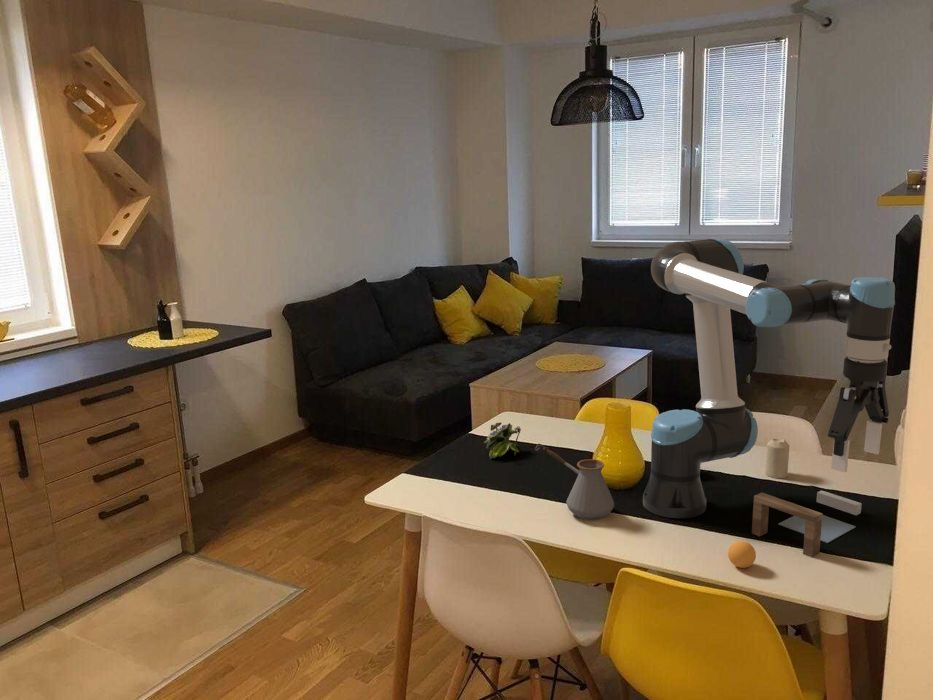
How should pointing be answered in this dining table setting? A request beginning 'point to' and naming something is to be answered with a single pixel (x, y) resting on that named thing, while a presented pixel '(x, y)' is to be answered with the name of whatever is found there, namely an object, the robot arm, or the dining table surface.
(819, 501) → the wall
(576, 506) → the coffee pot
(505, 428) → the green leafy plant
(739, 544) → the ball
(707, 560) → the dining table surface
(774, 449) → the candle
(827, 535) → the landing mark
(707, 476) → the dining table surface
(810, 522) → the bridge
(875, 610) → the dining table surface
